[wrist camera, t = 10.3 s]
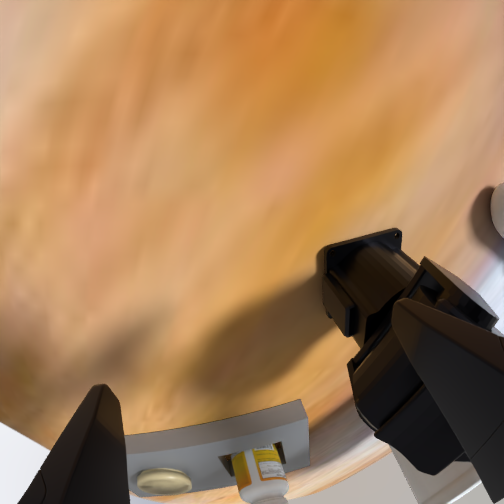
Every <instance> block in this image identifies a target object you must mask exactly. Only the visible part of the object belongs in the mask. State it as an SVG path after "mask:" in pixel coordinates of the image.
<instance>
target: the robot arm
mask: <svg viewBox="0 0 504 504" xmlns="http://www.w3.org/2000/svg"><path fill="white" fill-rule="evenodd" d="M396 233H397V234H396ZM395 234H396V236H395ZM401 243H402V232H401V231H400V230H399V229H398V228H392V229H388V230H385V231H381V232H377V233H373V234H370V235H366V236H362V237H358V238H354V239H351V240H347V241H343V242H339V243H335V244H331V245H329V246H327V247H326V248H325V250H324V264H325V274H324V275H323V277H322V288H323V304H324V306H325V307H326V314H327V316H328V317H329V318H331V319H332V318H333V319H334V321H335V322H336V324H337V326H338V327H339V329H340V330H341V332H342V333H343V335H344V336H346V337H347V338H348V337H351V336H352V337H353V338H354V340H355V341H356V343H357V344H358V346H359V347H360V351H359V352H358V353H357V354H356V356H355V357H354V358H352V359H351V360H350V361H349V362H348V363H347V368H348V372H349V377H350V381H351V386H352V391H353V396H354V400H355V405H356V409H357V412H358V413H359V416H360V418H361V419H362V420H363V421H364V422H365V423H366V424H367V425H368V426H369V427H370V428H371V429H372V430H374V431H375V433H374V436H375V437H376V438H377V439H379V440H381V441H383V442H385V443H387V444H389V445H391V446H392V447H393V448H395V449H396V450H397V451H399V452H400V453H401V454H402V455H403V456H404V457H405V458H406V459H407V460H408V461H409V462H410V463H411V464H412V465H413V466H414V467H415V468H416V469H417V470H418V471H420V472H423V473H426V474H429V475H432V476H435V475H437V474H439V473H440V472H441V471H442V470H444V469H445V468H446V467H448V466H449V465H450V464H451V463H452V462H470V463H472V465H473V467H474V468H475V470H476V472H477V474H478V476H479V478H480V479H481V481H482V483H483V485H484V487H485V489H486V491H487V493H488V495H489V496H490V498H491V500H492V502H493V503H494V504H495V503H496V502H498V501H500V500H501V499H503V498H504V335H503V334H502V333H501V332H500V331H499V330H497V329H496V328H495V327H494V325H495V324H496V323H497V321H498V320H499V318H498V316H497V315H496V314H495V312H494V311H493V310H492V309H491V308H490V306H489V305H488V304H487V303H486V302H485V300H484V299H483V298H482V297H481V296H480V295H479V294H478V293H477V292H476V291H475V290H473V289H472V288H471V287H470V286H468V285H467V284H466V283H465V282H464V281H462V280H461V279H460V278H458V277H457V276H456V275H454V274H452V273H451V272H449V271H448V270H446V269H445V268H443V267H441V266H440V265H438V264H437V263H435V262H433V261H432V260H430V259H428V258H427V257H425V256H424V258H423V259H422V261H421V262H420V264H421V265H418V264H417V263H416V262H415V261H414V260H412V259H411V258H410V257H409V256H408V255H406V254H405V253H404V252H403V251H402V250H401ZM332 250H334V251H333V253H332V254H330V252H331V251H332ZM40 469H41V470H39V471H38V473H37V474H36V476H35V478H34V479H33V481H32V483H31V484H30V486H29V488H28V489H27V490H26V492H25V493H24V495H23V496H22V498H21V499H20V501H19V502H18V503H17V504H130V496H129V485H128V472H127V454H126V444H125V437H124V430H123V423H122V415H121V407H120V402H119V400H118V398H117V397H116V396H115V394H114V393H113V392H112V391H111V389H110V388H109V387H108V386H107V385H106V384H98V385H94V386H93V387H92V388H91V389H90V391H89V392H88V394H87V395H86V397H85V398H84V400H83V401H82V403H81V404H80V406H79V407H78V409H77V410H76V412H75V413H74V415H73V417H72V418H71V420H70V421H69V423H68V424H67V426H66V427H65V429H64V431H63V432H62V434H61V435H60V437H59V438H58V440H57V442H56V443H55V445H54V446H53V448H52V450H51V451H50V453H49V455H48V456H47V458H46V460H45V461H44V463H43V465H42V466H41V468H40Z"/></svg>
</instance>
